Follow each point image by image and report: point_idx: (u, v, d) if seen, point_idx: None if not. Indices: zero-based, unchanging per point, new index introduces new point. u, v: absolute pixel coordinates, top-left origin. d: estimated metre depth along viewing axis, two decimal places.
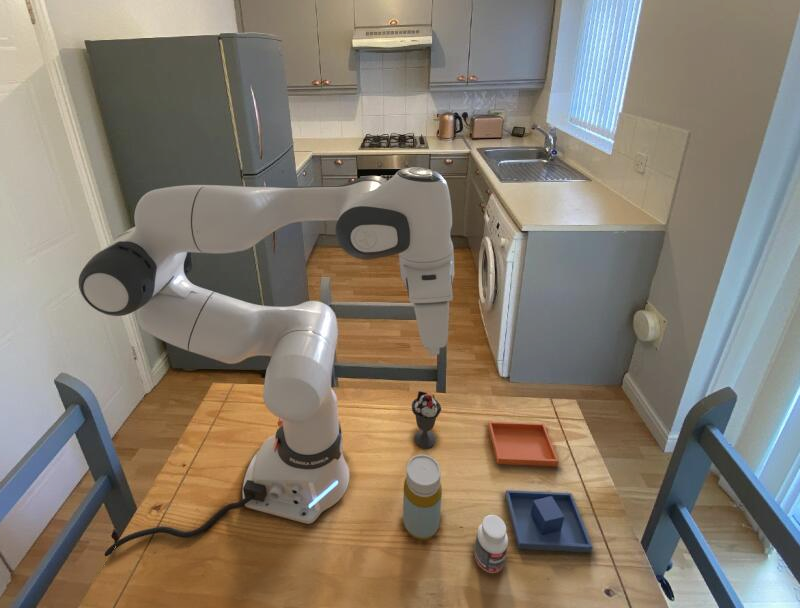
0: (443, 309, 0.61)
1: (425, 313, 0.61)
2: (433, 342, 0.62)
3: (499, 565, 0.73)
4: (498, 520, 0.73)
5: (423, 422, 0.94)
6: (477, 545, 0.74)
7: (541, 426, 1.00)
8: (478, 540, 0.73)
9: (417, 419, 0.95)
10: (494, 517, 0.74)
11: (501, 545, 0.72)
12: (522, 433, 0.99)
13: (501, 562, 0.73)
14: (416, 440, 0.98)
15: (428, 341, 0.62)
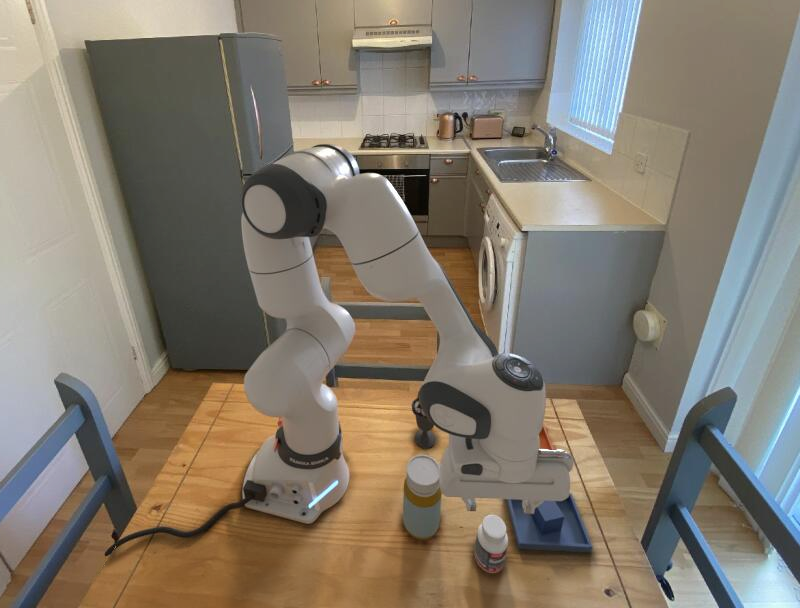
0: (448, 468, 0.65)
1: (445, 455, 0.68)
2: (439, 479, 0.69)
3: (499, 565, 0.73)
4: (498, 520, 0.73)
5: (423, 422, 0.94)
6: (477, 545, 0.74)
7: None
8: (478, 540, 0.73)
9: (417, 419, 0.95)
10: (494, 517, 0.74)
11: (501, 545, 0.72)
12: None
13: (501, 562, 0.73)
14: (416, 440, 0.98)
15: (439, 474, 0.69)
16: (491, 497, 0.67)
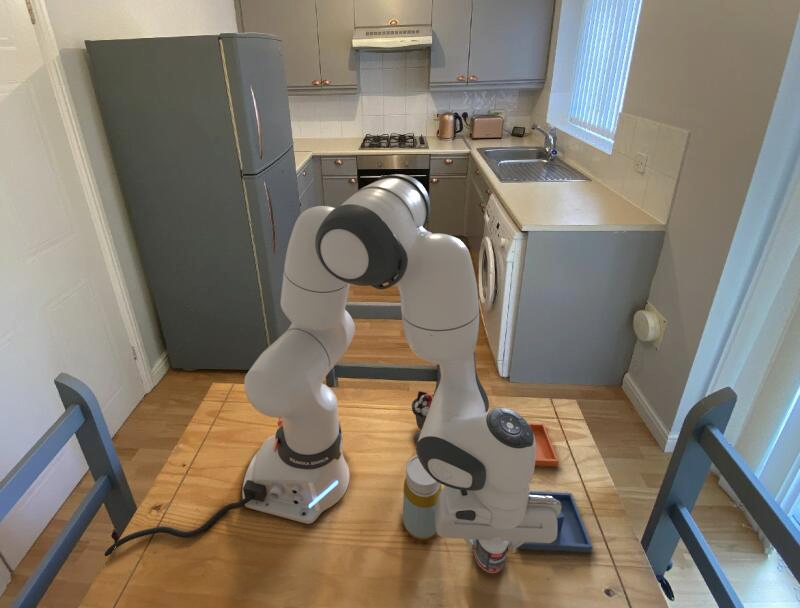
0: (444, 512, 0.69)
1: (441, 498, 0.72)
2: (435, 520, 0.73)
3: (499, 565, 0.73)
4: None
5: (423, 422, 0.94)
6: None
7: (541, 426, 1.00)
8: (478, 540, 0.73)
9: (417, 419, 0.95)
10: None
11: (501, 545, 0.72)
12: None
13: (501, 562, 0.73)
14: (416, 440, 0.98)
15: (435, 515, 0.74)
16: (483, 538, 0.71)
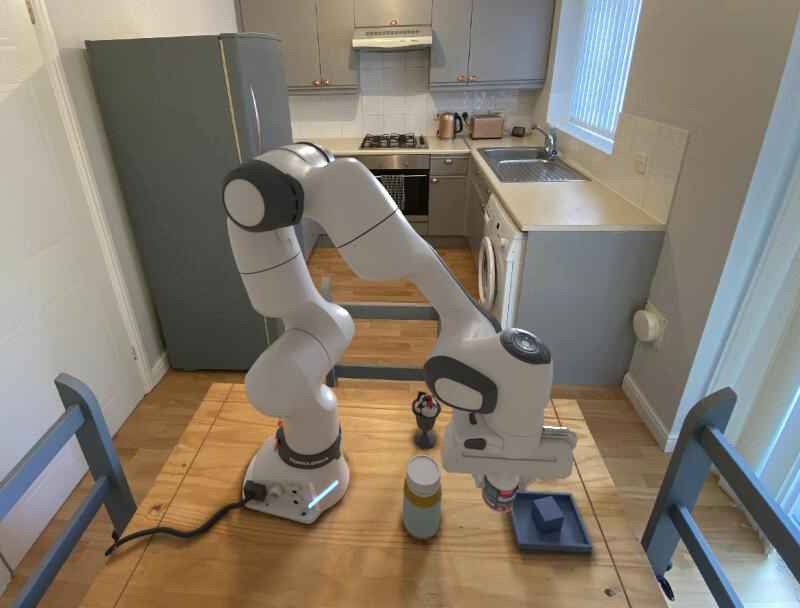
0: (451, 443, 0.65)
1: (448, 430, 0.67)
2: (441, 455, 0.68)
3: (508, 503, 0.68)
4: None
5: (423, 422, 0.94)
6: None
7: None
8: (487, 477, 0.69)
9: (417, 419, 0.95)
10: None
11: (511, 481, 0.67)
12: None
13: (511, 501, 0.68)
14: (416, 440, 0.98)
15: (441, 450, 0.69)
16: (493, 473, 0.66)
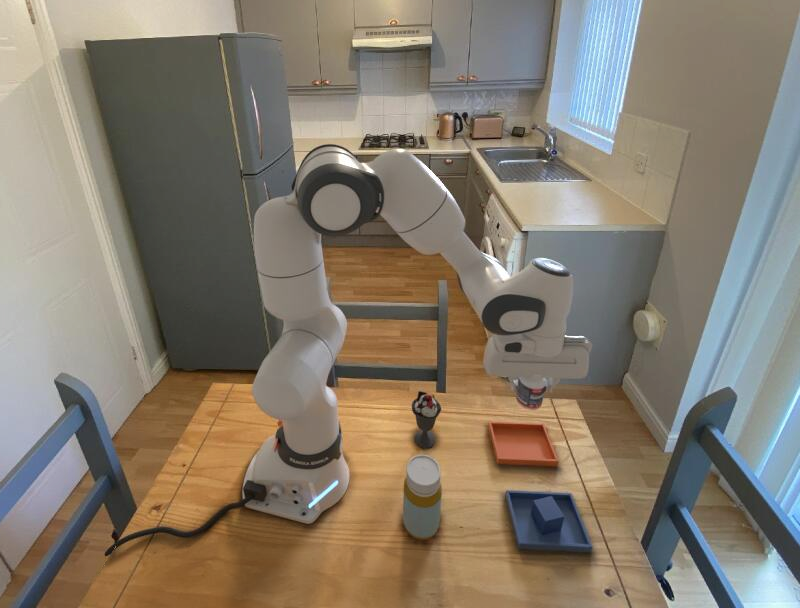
0: (493, 350, 0.83)
1: (489, 343, 0.85)
2: (484, 364, 0.86)
3: (538, 401, 0.86)
4: None
5: (423, 422, 0.94)
6: None
7: (541, 426, 1.00)
8: (520, 381, 0.87)
9: (417, 419, 0.95)
10: None
11: (540, 382, 0.85)
12: (522, 433, 0.99)
13: (540, 399, 0.86)
14: (416, 440, 0.98)
15: (483, 360, 0.87)
16: (526, 375, 0.85)
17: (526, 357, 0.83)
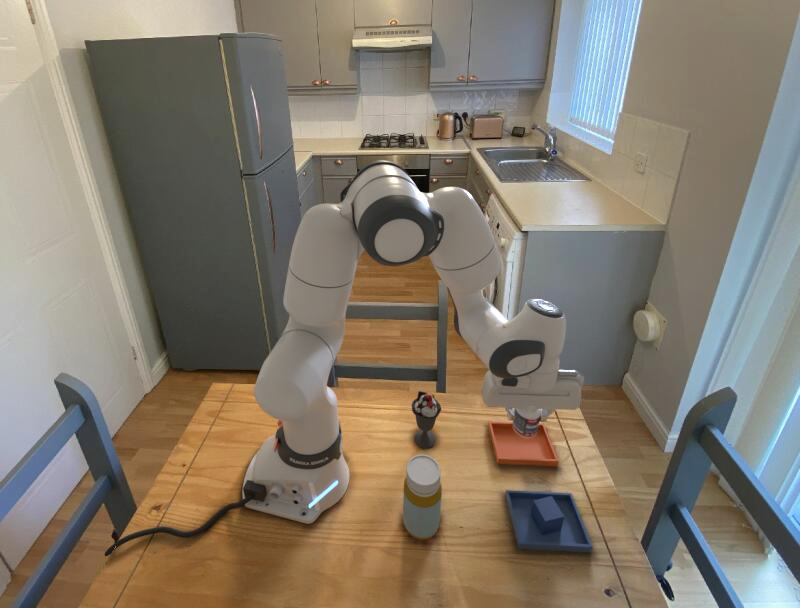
0: (491, 383, 0.88)
1: (487, 376, 0.90)
2: (482, 395, 0.92)
3: (533, 430, 0.91)
4: None
5: (423, 422, 0.94)
6: (516, 416, 0.92)
7: (541, 426, 1.00)
8: (517, 411, 0.92)
9: (417, 419, 0.95)
10: None
11: (535, 413, 0.90)
12: None
13: (535, 428, 0.91)
14: (416, 440, 0.98)
15: (482, 392, 0.92)
16: (522, 407, 0.90)
17: (522, 390, 0.88)
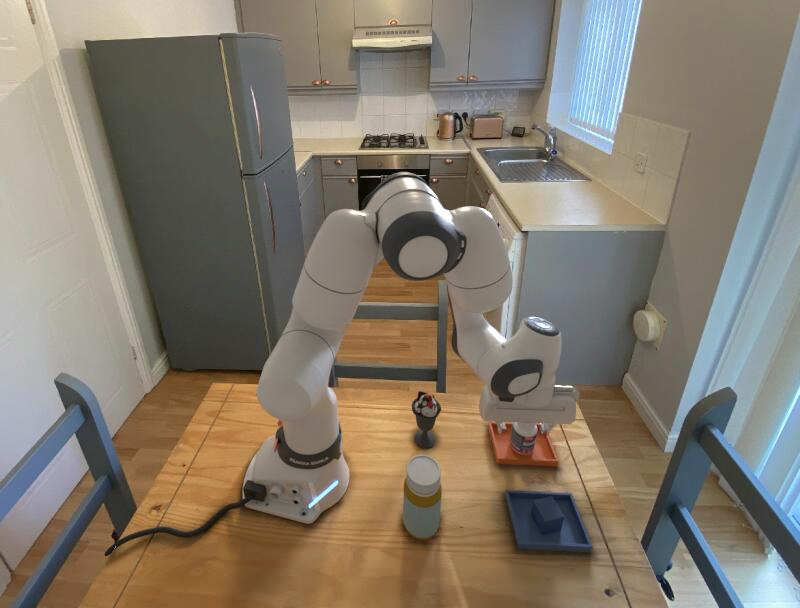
0: (488, 398, 0.90)
1: (485, 390, 0.92)
2: (480, 409, 0.93)
3: (530, 447, 0.93)
4: None
5: (423, 422, 0.94)
6: (513, 433, 0.94)
7: None
8: (514, 429, 0.94)
9: (417, 419, 0.95)
10: None
11: (532, 430, 0.92)
12: None
13: (532, 445, 0.93)
14: (416, 440, 0.98)
15: (479, 406, 0.94)
16: (518, 421, 0.92)
17: (518, 405, 0.90)
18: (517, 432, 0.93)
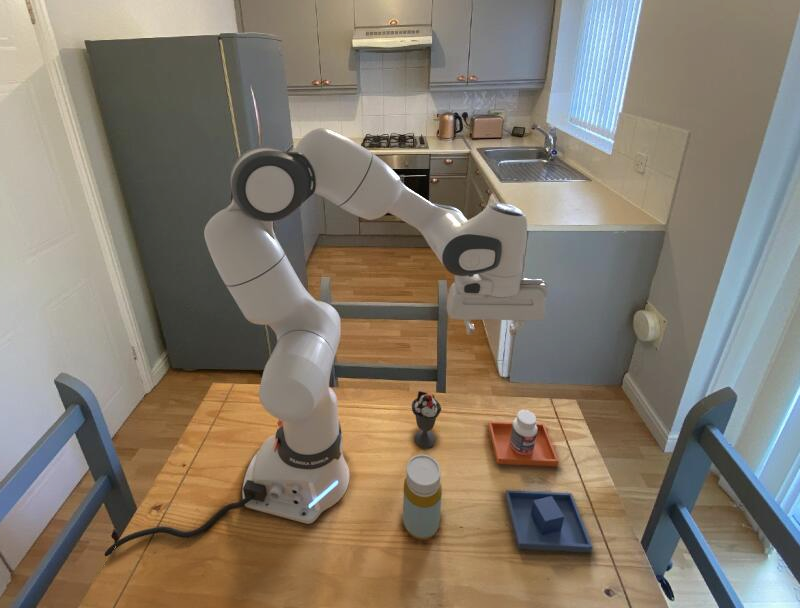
0: (454, 293, 0.87)
1: (451, 287, 0.89)
2: (447, 308, 0.91)
3: (530, 447, 0.93)
4: (529, 413, 0.94)
5: (423, 422, 0.94)
6: (513, 433, 0.94)
7: (541, 426, 1.00)
8: (514, 429, 0.94)
9: (417, 419, 0.95)
10: (526, 411, 0.94)
11: (532, 430, 0.92)
12: None
13: (532, 445, 0.93)
14: (416, 440, 0.98)
15: (447, 305, 0.91)
16: (486, 318, 0.89)
17: (486, 299, 0.87)
18: (517, 432, 0.93)
